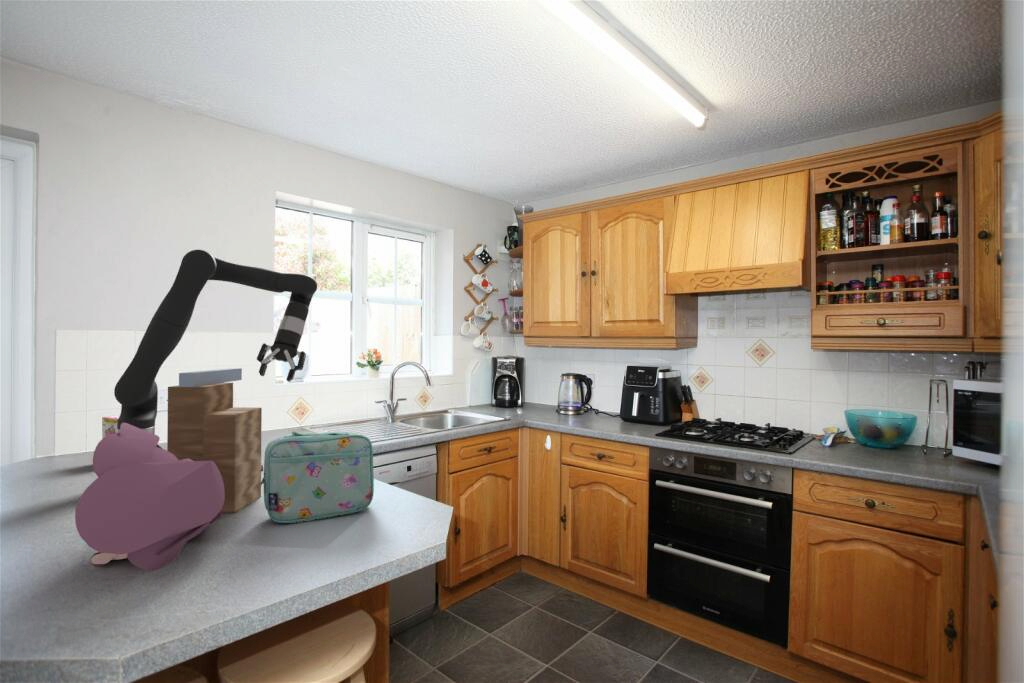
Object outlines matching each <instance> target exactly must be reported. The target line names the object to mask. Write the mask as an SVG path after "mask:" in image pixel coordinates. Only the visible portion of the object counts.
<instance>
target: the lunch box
mask: <svg viewBox="0 0 1024 683" xmlns="http://www.w3.org/2000/svg"><path fill="white" fill-rule="evenodd" d="M373 450H374V448H373V443H372V441H371V439H370V438H369V437H368V436H366V435H363V434H362V433H359V432H352V431H351V432H350V431H349V432H348V431H343V432H341V431H340V432H336V431H335V432H330V431H329V432H319V433H317V432H314V433H313V432H312V433H299V432H296V431H294V430H293V431H291V435H284V436H282V437H281V436H280V437H278V438H275V439H272V440H271V441H269V442H268V444H267V445H266V448H265V450H264V459H263V461H264V462H263V477H262V478H261V484H260V486H259V487H261V488H262V486H263V501H264V502H263V503H264V508H265V510H266V511H267V515H268V516H269V519H270V520H272V521H273V522H275V523H278V524H294V523H295V524H297V523H304V522H303V521H305V522H309V521H310V520H311V521H315V519H317V520H323V519H327V517H328V518H333V517H337V516H338V515H340V516H345V514H346V515H350V514H354V513H358V512H361V511H362V510H365V509H367V508H368V507H369V506H370V504H371V503H372V501H373V498H374V494H375V493H374V492H375V491H374V490H375V488H374V485H375V484H374V481H375V480H374V479H375V478H374V477H375V476H374V451H373ZM338 517H339V516H338ZM322 518H323V519H322ZM296 522H297V523H296Z"/></svg>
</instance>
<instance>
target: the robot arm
mask: <svg viewBox="0 0 1024 683" xmlns="http://www.w3.org/2000/svg"><path fill="white" fill-rule="evenodd" d="M208 281H221V282H227V283H228V282H229V283H233V284H234V283H235V284H237V285H238V284H239V285H242V286H246V287H252V288H253V289H254V288H255V289H260V290H263V291H268V292H273V293H279V294H280V293H281V294H282V293H284V292H286V293H287V292H289V293H290V297H289V301H288V304H287V305H286V308H285V311H284V314H283V317H282V319H281V321H280V323H279V327H278V329H277V333H276V335H275V338H274V342H273V344H271V345H269V344H267V343H265V342H264V343H262V344H261V347H260V350H259V352H258V355H257V357H256V361H258V362H259V363H260V367H259V370H258V374H259V375H260V376H261V377H265V375H266V371H267V369H268V365H269V364H270V363H272V362H274V361H277V362H278V361H279V362H284V363H288V364H289V367H290V368H289V370H288V373H287V377H286V381H287V382H289V383H291V381H293V380H294V377H295V373H296V372H298V371H303V369H304V366H305V361H306V357H307V354H306V352H305V351H300V350H299V351H298V349H299V346H300V342H301V339H302V336H303V334H304V331H305V330H304V329H305V325H306V321H307V318H308V315H309V309H310V308H309V307H310V304H311V302H312V299H313V296H314V295H315V293H316V291H317V289H318V283H317V281H316V279H315V278H314V277H312V276H310V275H306V274H302V273H292V272H291V273H290V272H287V273H286V272H281V271H277V270H272V269H268V268H264V267H259V266H250V265H242V264H238V263H233V262H229V261H226V260H223V259H220V258H216V257H215V256H213V255H212V254H211V253H209V252H208V251H207V250H203V249H192V250H190V251H188V252H186V254H184V256H182V259H181V263H180V266H179V268H178V271H177V274H176V276H175V279H174V281H173V284H172V286H171V287H170V289H169V291H168V292H167V293H166V295H165V297H164V298H163V299H162V301H161V302H160V304H159V305H158V308H157V309H156V311H155V313H154V315H153V316H152V318H151V319H150V322H149V324H148V326H147V328H146V330H145V332H144V335H143V336H142V339H141V341H140V342H139V345H138V348H137V350H136V353H135V355H134V357H133V358H132V360H131V362H130V363H129V365H128V366H127V368H126V369H125V371H124V372H123V374H122V375H121V376H120V377H119V380H118V381H117V382H116V385H115V386H114V390H113V391H114V392H113V393H114V398H115V400H116V401H117V403H119V404H121V408H120V414H119V416H120V417H119V419H118V421H117V433H120V426H121V424H122V423H128V424H130V425H133V426H135V427H137V428H140V429H142V430H145V431H147V432H150V433H152V434H155V435H156V419H157V415H158V399H159V397H158V395H159V394H158V393H159V392H158V391H159V390H158V389H159V388H158V384H157V382H156V381H155V380H156V378H157V375H158V373H159V371H160V369H161V367H162V365H163V364H164V362H165V361H166V360H167V359H168V357H169V356H170V355H171V354H172V353H173V351H174V350H175V349H176V347H177V346H178V345H179V343H180V342H181V340H182V339H183V336H184V334H185V333H186V330H187V328H188V326H189V324H190V321H191V318H192V316H193V314H194V310H195V306H196V303H197V300H198V298H199V295H200V294H201V292H202V291H203V289H204V287H205V285H206V284H207V283H208ZM269 351H271V353H269V354H268V355H267V356H266V354H267V353H268V352H269ZM296 356H297V357H298V361H297V365H296V363H295V360H294V358H295V357H296Z"/></svg>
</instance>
